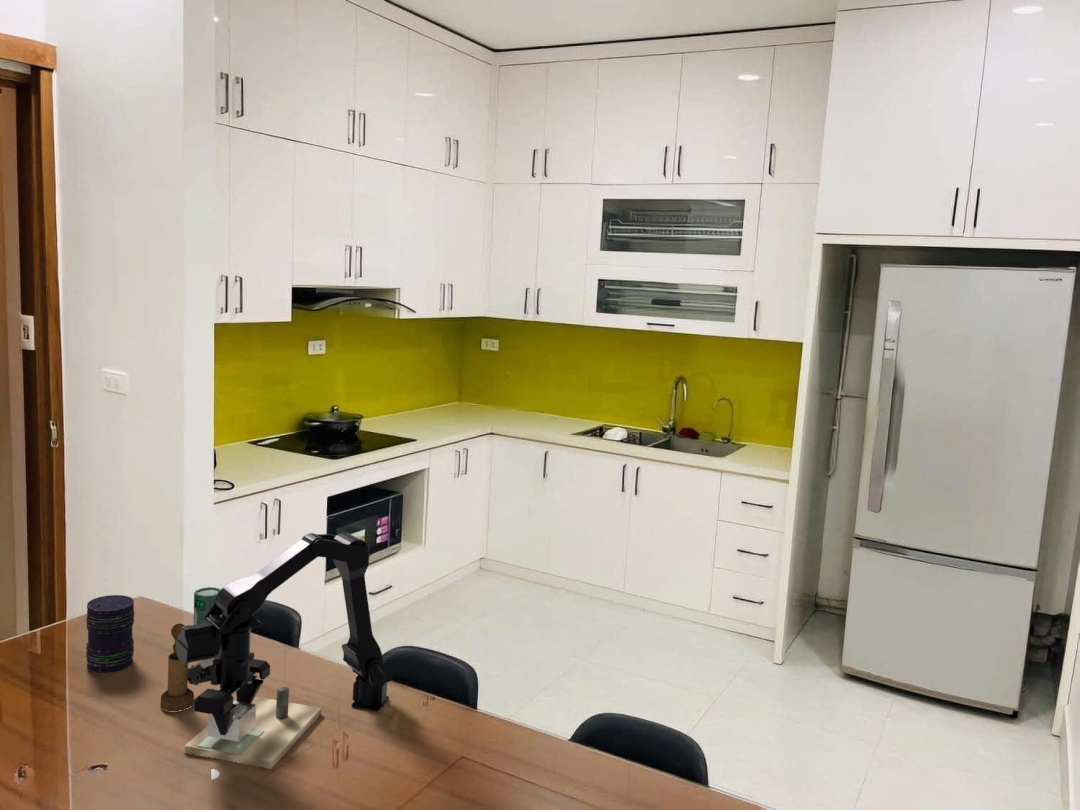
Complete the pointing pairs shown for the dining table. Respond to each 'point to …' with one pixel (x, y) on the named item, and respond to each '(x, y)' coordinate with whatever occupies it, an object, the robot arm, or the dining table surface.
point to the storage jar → (110, 633)
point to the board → (261, 733)
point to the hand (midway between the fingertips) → (232, 726)
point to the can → (204, 603)
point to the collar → (236, 722)
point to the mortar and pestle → (177, 680)
